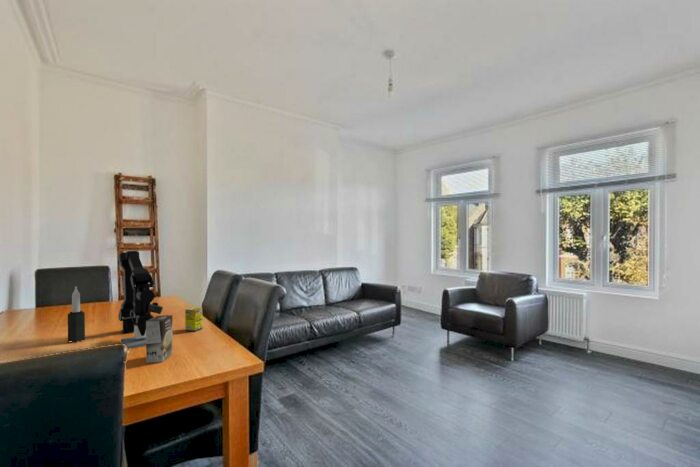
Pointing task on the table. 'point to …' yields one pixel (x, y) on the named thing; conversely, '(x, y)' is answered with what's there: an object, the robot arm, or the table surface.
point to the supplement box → (193, 319)
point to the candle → (76, 320)
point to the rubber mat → (134, 342)
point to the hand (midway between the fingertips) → (141, 334)
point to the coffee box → (159, 338)
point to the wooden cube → (138, 333)
